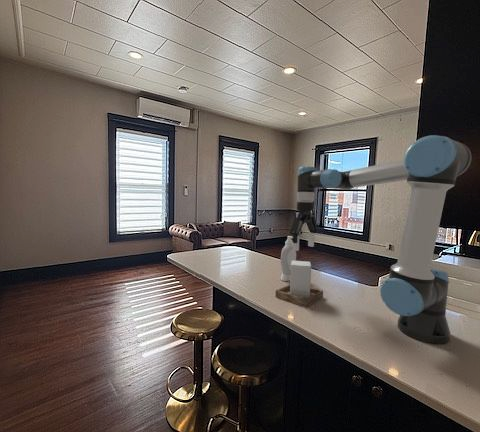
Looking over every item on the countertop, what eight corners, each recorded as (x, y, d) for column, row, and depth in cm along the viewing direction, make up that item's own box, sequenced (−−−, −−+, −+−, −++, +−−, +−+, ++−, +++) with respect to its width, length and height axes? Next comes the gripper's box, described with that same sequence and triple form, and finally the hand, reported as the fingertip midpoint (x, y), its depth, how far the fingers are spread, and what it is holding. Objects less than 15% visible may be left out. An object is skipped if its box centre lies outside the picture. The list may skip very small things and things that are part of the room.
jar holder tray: (322, 297, 122) (323, 291, 122) (305, 307, 111) (305, 300, 110) (293, 288, 133) (294, 282, 132) (275, 296, 121) (275, 290, 121)
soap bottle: (287, 284, 139) (289, 238, 137) (276, 280, 145) (278, 236, 143) (302, 279, 148) (304, 236, 146) (291, 276, 153) (293, 234, 151)
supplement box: (310, 299, 116) (311, 266, 115) (289, 297, 118) (290, 264, 117) (309, 292, 125) (310, 261, 124) (290, 290, 127) (291, 259, 126)
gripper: (311, 201, 130) (309, 244, 131) (282, 201, 112) (281, 250, 113) (325, 201, 125) (323, 246, 126) (298, 201, 106) (296, 253, 108)
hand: (303, 248), depth 120 cm, fingers open, 13 cm apart
